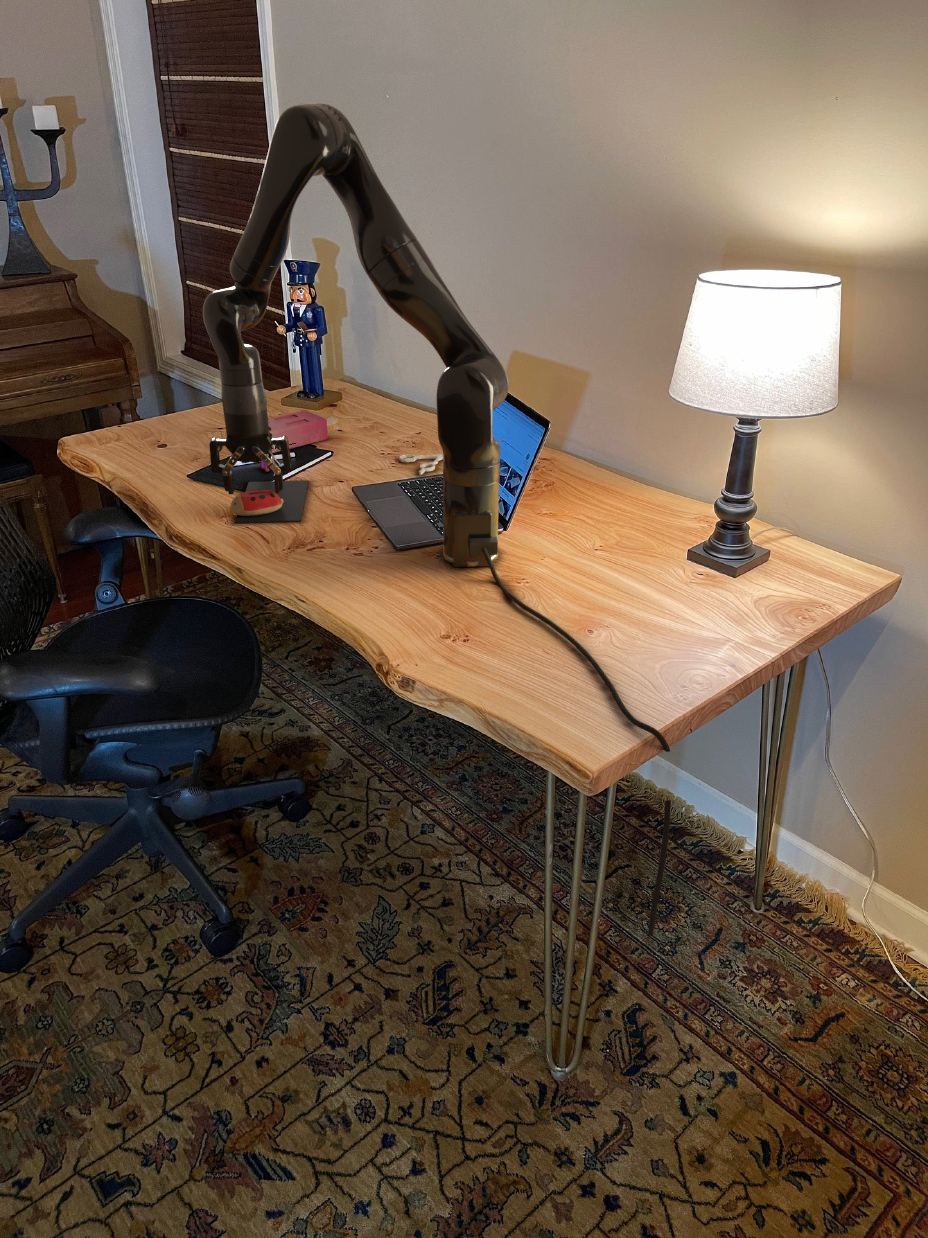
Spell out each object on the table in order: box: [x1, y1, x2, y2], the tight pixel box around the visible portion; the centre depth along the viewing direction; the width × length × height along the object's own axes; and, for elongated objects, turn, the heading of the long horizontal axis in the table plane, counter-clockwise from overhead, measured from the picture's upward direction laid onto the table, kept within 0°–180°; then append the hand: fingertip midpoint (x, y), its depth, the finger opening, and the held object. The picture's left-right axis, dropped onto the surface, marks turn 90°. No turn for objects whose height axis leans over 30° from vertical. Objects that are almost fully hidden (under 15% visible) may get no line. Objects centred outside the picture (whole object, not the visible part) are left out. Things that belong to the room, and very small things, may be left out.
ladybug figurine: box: [229, 490, 283, 516], centre depth 168 cm, size 7×10×4 cm
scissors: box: [398, 452, 443, 476], centre depth 195 cm, size 11×1×20 cm
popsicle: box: [268, 409, 339, 454], centre depth 205 cm, size 9×5×20 cm
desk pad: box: [233, 480, 310, 524], centre depth 174 cm, size 20×12×1 cm, turn 4°
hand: (255, 492), depth 167 cm, fingers open, 8 cm apart
